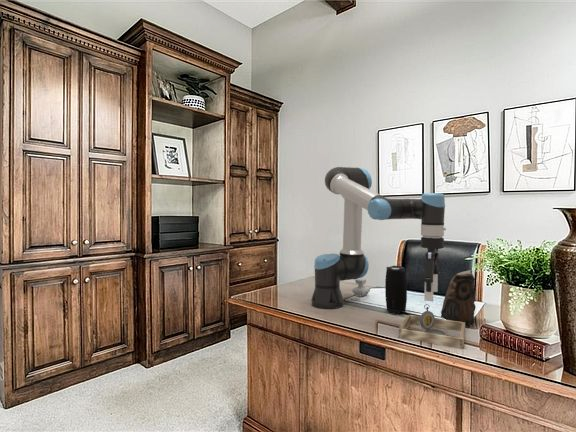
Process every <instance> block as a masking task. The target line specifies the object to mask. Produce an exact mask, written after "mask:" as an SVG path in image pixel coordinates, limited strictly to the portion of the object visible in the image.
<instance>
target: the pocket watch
mask: <svg viewBox="0 0 576 432" xmlns="http://www.w3.org/2000/svg"><path fill="white" fill-rule="evenodd" d="M423 308H424V309H425V311H423V312H422V313H421V315H420V325H419V326H420V327H421V328H422V329H423V330H424V332H426V333H433V334H439V335H445V336H446V332H445V331H443V330H440V329H437V328H433V327H432V326H433V324H434V321H435V315H434V313H433V312H431V311H430V310H429V309H430V305H429V304H427V303H425V305H424V306H423ZM429 320H430V321H429ZM427 321H428V322H427ZM425 323H427V325H425Z"/></svg>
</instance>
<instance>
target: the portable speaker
mask: <svg viewBox="0 0 576 432" xmlns="http://www.w3.org/2000/svg"><path fill="white" fill-rule="evenodd" d="M385 270H386V272H385V285H384V289H385V306H386V309H387V311H388V313H389V314H392V315H399V314H400V313H404V314H405V313H406V310H407V303H408V302H407V299H408V296H407V295H408V285H407V284H408V281H407V274H406V273H407V272H406V267H403V266H401V265H391V266H386V269H385Z"/></svg>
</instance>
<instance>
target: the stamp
mask: <svg viewBox="0 0 576 432" xmlns="http://www.w3.org/2000/svg"><path fill="white" fill-rule="evenodd" d="M354 280H355V281H354V282H355V284H356V285H358V286H356V287H353V288H352V290H351V291H352V293H353V294H354V295H355V296H358V297H365V296H367V295H369V293H370V291H371V290H370V288H369V287H367V286H365V287H364V285H366V282H367V280H366V278H365V279H364V278H358V279H354Z"/></svg>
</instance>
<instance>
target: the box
mask: <svg viewBox="0 0 576 432" xmlns="http://www.w3.org/2000/svg"><path fill="white" fill-rule="evenodd" d="M420 316H421V315H420ZM420 316H419V315H415V314H414V315H413V314H407V315H406V317H405V318H404V320H403V322H402V323H401V325H400V326H399V328H398V338H400V339H404V340H409V339H411V340H410V341H415V340H417V341H416V342H421V341H423V343H427V342H428V343H427V344H434V345H438V346H446V347H449V348H450V347H452V348H456V349H463V350H464V347H465V346H464V345H465V337H466V326H465V322H458V321H451V320H445V319H444V318H435V321H434V324H433V326H432V327H431V328H438V329H439V328H440V329H445V330H446V329H447V330H453V331H460V334H459V337H458V336H450V335H446V334H445V335H439V334H433V333H426V332H425V331H419V330H413V329H408V328H409V327H410V325H411V324H414V325H419V326H421V325H420ZM429 321H430V320H429ZM427 322H428V321H427ZM425 325H427V323H425Z"/></svg>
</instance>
